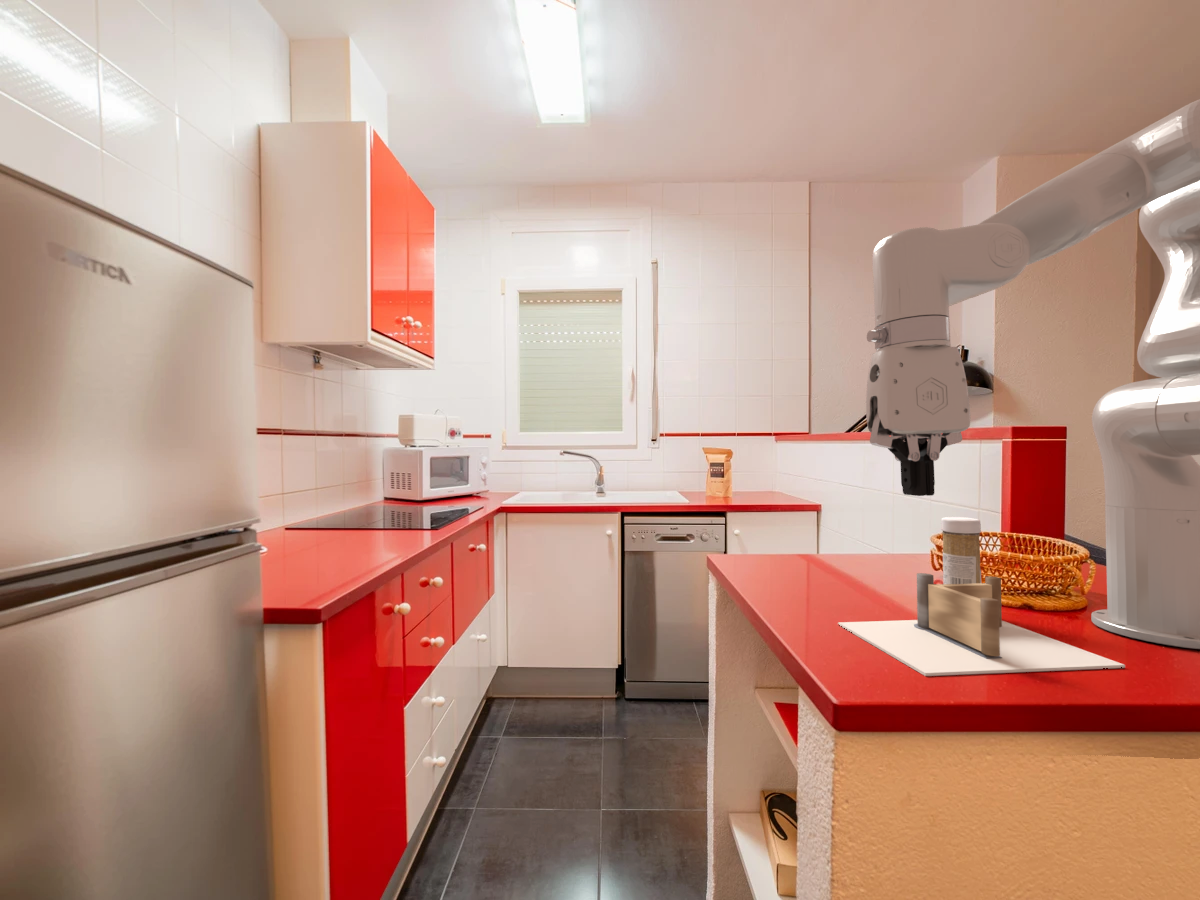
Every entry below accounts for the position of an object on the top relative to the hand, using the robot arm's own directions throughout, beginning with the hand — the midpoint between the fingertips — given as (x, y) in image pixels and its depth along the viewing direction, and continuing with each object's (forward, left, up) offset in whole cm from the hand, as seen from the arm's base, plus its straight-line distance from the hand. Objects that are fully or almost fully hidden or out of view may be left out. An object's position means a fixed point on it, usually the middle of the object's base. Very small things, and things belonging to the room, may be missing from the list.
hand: (918, 494), depth 60 cm
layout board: (-5, 0, -18) cm, 18 cm away
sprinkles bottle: (-14, -11, -18) cm, 25 cm away
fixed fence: (-9, -5, -18) cm, 20 cm away
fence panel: (-4, +1, -17) cm, 17 cm away
